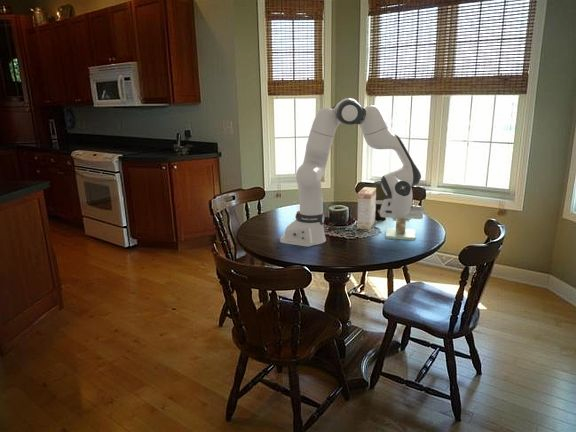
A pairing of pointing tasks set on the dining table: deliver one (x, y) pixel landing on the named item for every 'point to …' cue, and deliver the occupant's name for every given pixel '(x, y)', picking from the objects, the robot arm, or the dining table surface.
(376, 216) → the coffee mug
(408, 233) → the white square tile
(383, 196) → the canister
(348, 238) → the dining table surface
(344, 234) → the dining table surface
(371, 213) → the coffeecake box
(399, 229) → the maple block
